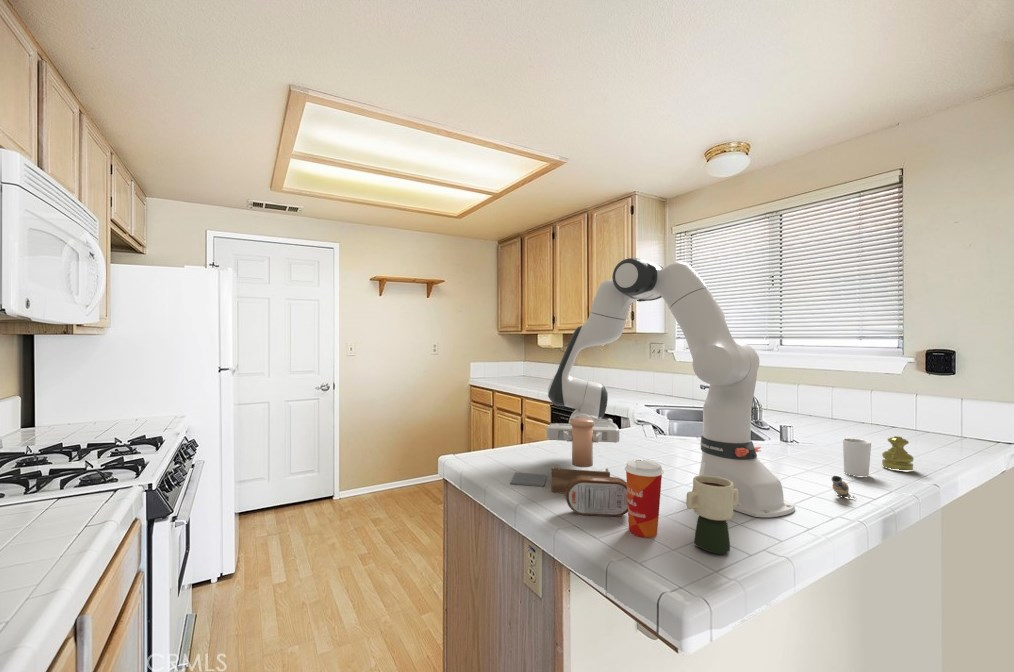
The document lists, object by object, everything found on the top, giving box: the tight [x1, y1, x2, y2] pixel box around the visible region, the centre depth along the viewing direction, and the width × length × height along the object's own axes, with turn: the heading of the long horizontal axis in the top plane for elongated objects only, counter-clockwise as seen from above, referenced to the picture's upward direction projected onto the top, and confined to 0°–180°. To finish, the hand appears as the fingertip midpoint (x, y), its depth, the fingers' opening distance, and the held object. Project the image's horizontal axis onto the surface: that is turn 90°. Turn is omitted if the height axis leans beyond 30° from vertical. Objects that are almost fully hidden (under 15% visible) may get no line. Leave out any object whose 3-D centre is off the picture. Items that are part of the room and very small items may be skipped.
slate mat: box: [509, 472, 548, 488], centre depth 125 cm, size 9×9×1 cm
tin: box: [564, 475, 628, 518], centre depth 102 cm, size 15×3×8 cm, turn 84°
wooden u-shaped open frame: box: [550, 465, 611, 494], centre depth 119 cm, size 10×15×6 cm
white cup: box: [842, 437, 872, 476], centre depth 134 cm, size 7×7×10 cm
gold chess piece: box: [881, 435, 915, 471], centre depth 139 cm, size 7×7×10 cm
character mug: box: [686, 475, 738, 554], centre depth 86 cm, size 11×7×13 cm, turn 102°
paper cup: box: [624, 459, 664, 539], centre depth 93 cm, size 8×8×14 cm
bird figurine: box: [831, 475, 857, 499], centre depth 114 cm, size 5×5×6 cm
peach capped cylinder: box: [569, 418, 594, 468], centre depth 122 cm, size 6×6×12 cm
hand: (582, 439), depth 121 cm, fingers closed on peach capped cylinder, 5 cm apart
